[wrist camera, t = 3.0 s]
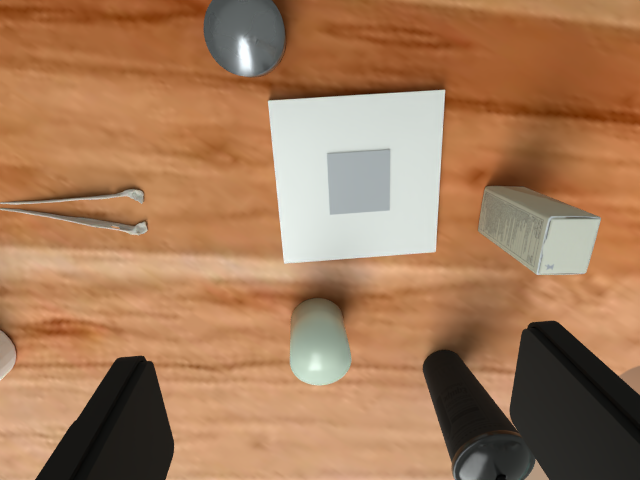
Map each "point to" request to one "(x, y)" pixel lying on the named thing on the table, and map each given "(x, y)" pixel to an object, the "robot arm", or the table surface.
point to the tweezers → (136, 230)
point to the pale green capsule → (318, 342)
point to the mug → (6, 354)
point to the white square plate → (357, 174)
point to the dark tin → (245, 36)
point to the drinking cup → (474, 424)
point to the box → (538, 230)
